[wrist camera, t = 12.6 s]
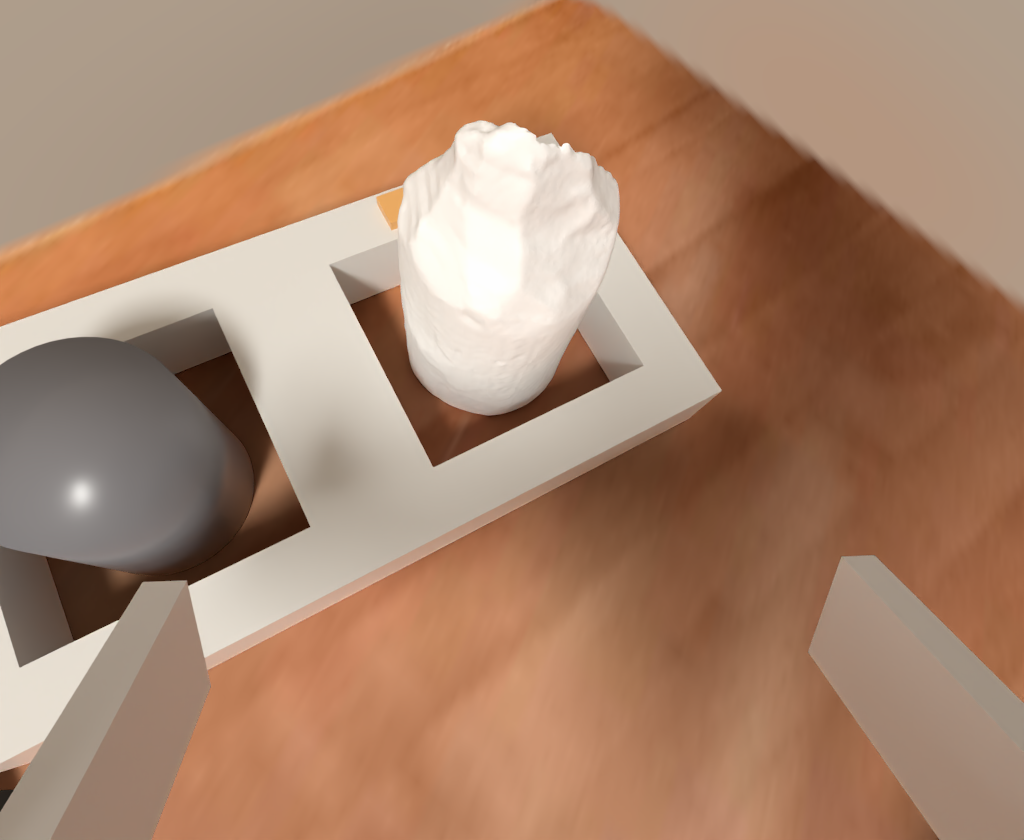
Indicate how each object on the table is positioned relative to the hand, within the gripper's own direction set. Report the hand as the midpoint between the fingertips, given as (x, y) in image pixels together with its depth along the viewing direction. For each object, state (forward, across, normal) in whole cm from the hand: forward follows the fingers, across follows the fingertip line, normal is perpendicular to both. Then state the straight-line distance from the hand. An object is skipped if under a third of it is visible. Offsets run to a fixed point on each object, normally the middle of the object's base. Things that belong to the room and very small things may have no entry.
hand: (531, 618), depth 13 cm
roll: (+13, 0, +1) cm, 13 cm away
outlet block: (+11, -6, -1) cm, 13 cm away
